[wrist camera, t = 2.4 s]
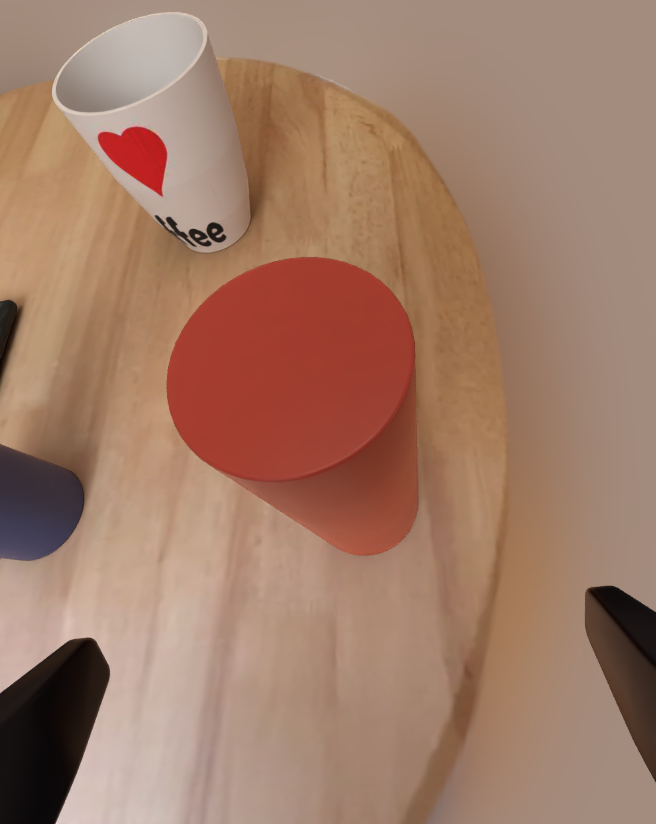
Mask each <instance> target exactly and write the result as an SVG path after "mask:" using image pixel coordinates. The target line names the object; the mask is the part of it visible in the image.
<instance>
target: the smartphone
mask: <svg viewBox="0 0 656 824" xmlns="http://www.w3.org/2000/svg"><path fill="white" fill-rule="evenodd" d="M16 311H17V305H16V303H14V302H13V301H11V300H5V301H0V360H1V357H2V354H3V351H4V348H5V345H6V342H7V339H8V336H9V333H10V329H11V326H12V323H13V320H14V317H15V314H16Z"/></svg>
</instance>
